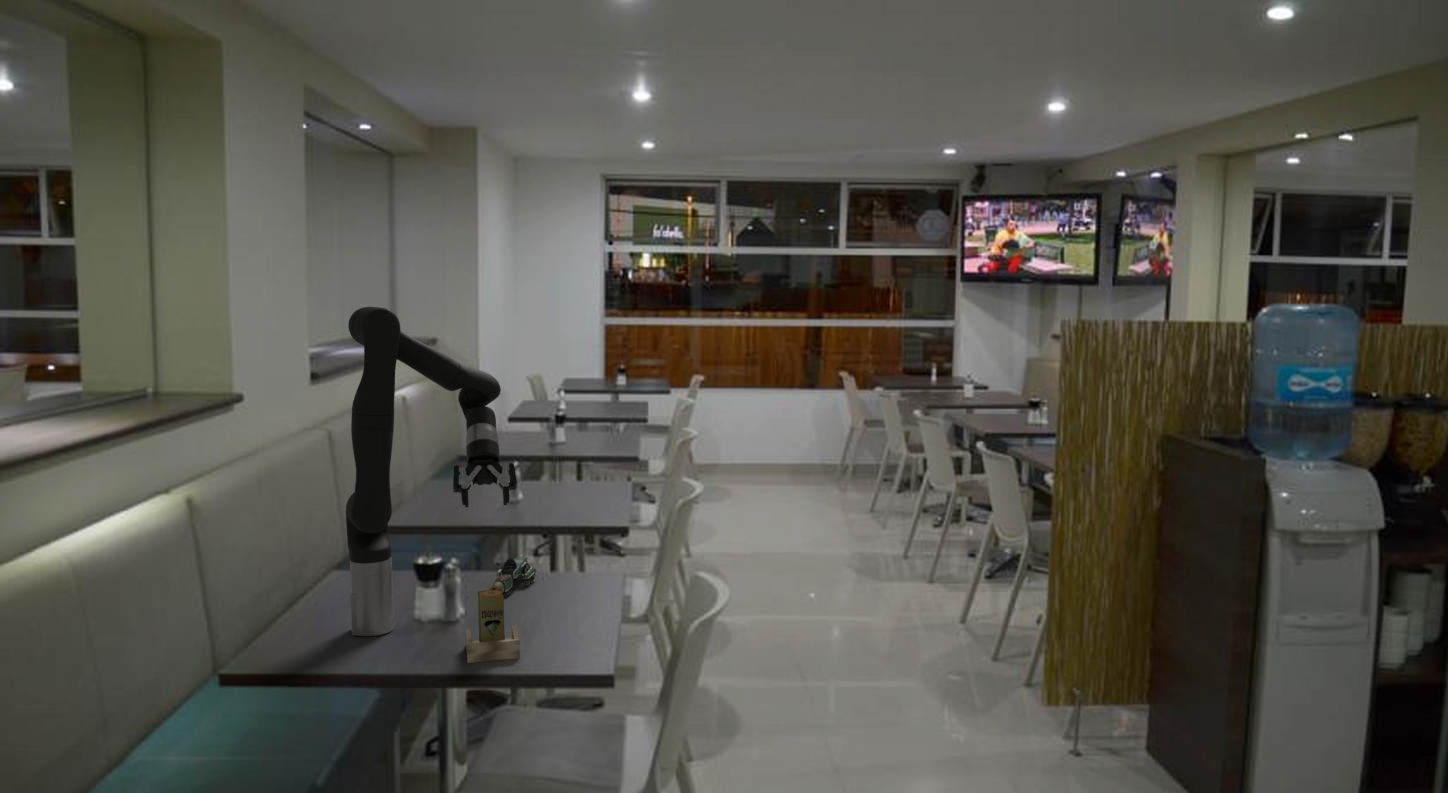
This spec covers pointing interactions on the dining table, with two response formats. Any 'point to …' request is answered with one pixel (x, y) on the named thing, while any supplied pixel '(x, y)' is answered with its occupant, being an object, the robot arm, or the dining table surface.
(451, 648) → the dining table surface
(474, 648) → the bay
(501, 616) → the shoe polish box
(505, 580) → the hoverbike
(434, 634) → the dining table surface
